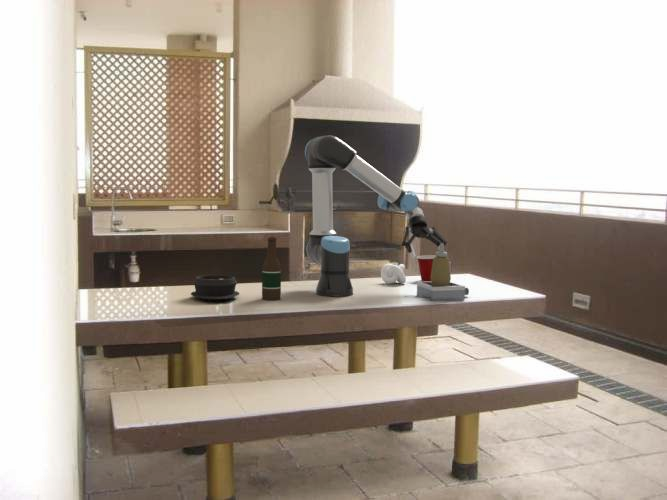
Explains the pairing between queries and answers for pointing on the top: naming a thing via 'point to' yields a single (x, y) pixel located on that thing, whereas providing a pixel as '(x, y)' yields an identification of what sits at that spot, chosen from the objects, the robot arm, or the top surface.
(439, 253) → the squeeze bottle
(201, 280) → the casserole
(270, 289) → the beer bottle
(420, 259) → the plastic cup
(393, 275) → the white plush toy
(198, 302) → the top surface
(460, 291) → the box
